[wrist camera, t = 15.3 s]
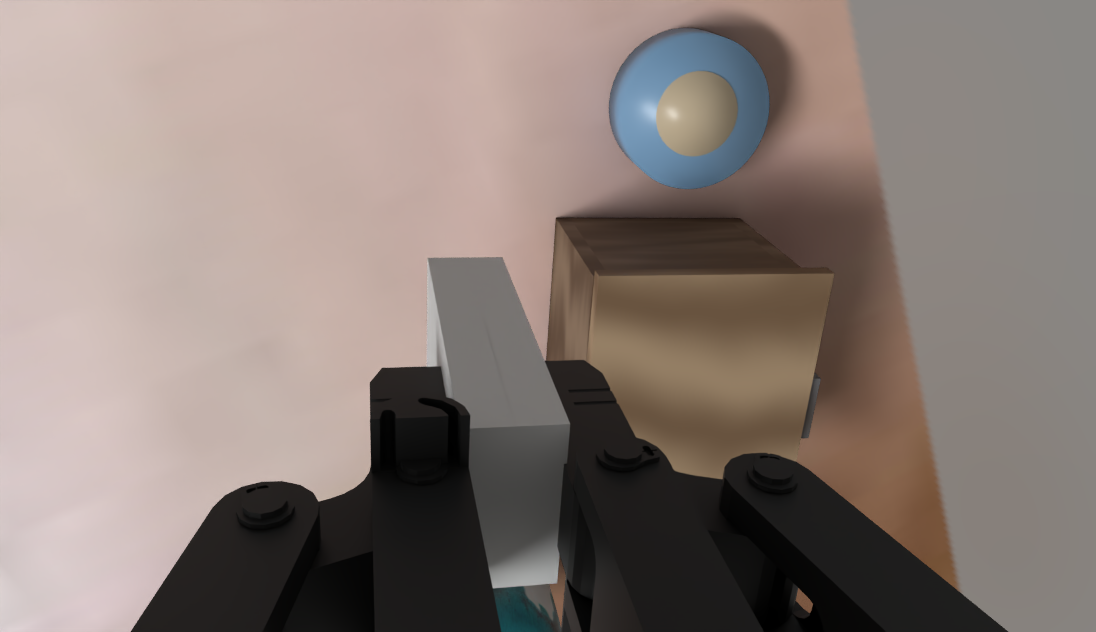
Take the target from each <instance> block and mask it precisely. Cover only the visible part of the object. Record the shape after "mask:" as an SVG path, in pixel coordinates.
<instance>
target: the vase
mask: <svg viewBox="0 0 1096 632" xmlns="http://www.w3.org/2000/svg"><path fill="white" fill-rule="evenodd" d="M493 592H494V597H495V602H496V607H497V612H498V617H499V622H500V627H501V632H561V626H560V622H559V618H558V614H557V610H556V607H555V603H554V600H553V596H552V593H551V589H550V586H549V584H541V585H529V586H516V587H504V588H493Z"/></svg>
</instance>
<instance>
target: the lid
mask: <svg viewBox="0 0 1096 632" xmlns="http://www.w3.org/2000/svg"><path fill="white" fill-rule="evenodd" d="M833 278H834V273H833V272H832V271H831V270H829V269H828V268H737V269H634V270H595V275H594V286H593V297H592V308H591V320H590V331H589V342H588V353H587V362H588V363H589V364H591V365H592V366H593V367H595V368H596V369H598V370H599V371H600V372H602V373H603V375H604V377H605V379H606V381H607V383H608V385H609V387H610V391H612V392H613V394H614V396H615V398H616V400H617V404H619V406H620V408H621V410H622V411H623V413H624V415H625V417H626V419H627V421H628V423H629V425H630V427H631V429H632V431H633V432H634V434H635V436H636V438H640V439H644V440H646V441H648V442H650V443H651V444H653V445H655V446H657V447H658V448H659V449H660V450H661V451H662V452H663V453H664V454H665V455H666V457H667V458H668V460H669V462H670V464H671V466H672V467H673V469H674V470H675V471H677V472H681V473H685V474H690V475H695V476H703V477H710V478H717V479H723V473H724V467H725V466H726V464H727V463H728V462H729V461H730V460H731V459H732V458H735V457H737V456H740V455H742V454H750V453H768V454H770V453H771V454H776V455H780V456H781V457H784V458H787V459H790V460H793V461H795V462H796V460H797V455H798V450H799V445H800V440H801V438H809V433H810V428H811V423H812V418H813V414H814V409H815V404H816V399H817V394H818V390H819V385H820V380H821V378H820V377H819V376H818V375H817V374H816V373H815V367H816V362H817V357H818V352H819V347H820V342H821V337H822V332H823V327H824V323H825V318H826V313H827V308H828V303H829V298H830V293H831V288H832V283H833Z"/></svg>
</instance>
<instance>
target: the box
mask: <svg viewBox="0 0 1096 632" xmlns="http://www.w3.org/2000/svg"><path fill="white" fill-rule="evenodd" d="M737 268H801V267H799V266H798V265H797V264H796V263H794V262H793V261H792V260H791V259H789V258H788V257H787V256H786V255H785V254H783V253H782V252H781V251H780V250H778V249H777V248H776V247H775V246H773V245H772V244H771V243H770V242H768V241H767V240H766V239H765V238H763V237H762V236H761V235H760V234H758V233H757V232H756V231H755V230H754V229H752V228H751V227H750V226H749V225H747V224H746V223H745V222H744V221H742V220H741V219H740V218H556V225H555V239H554V254H553V269H552V283H551V298H550V312H549V327H548V342H547V356H546V361H561V360H585V361H586V362H587V353H588V342H589V331H590V320H591V308H592V297H593V286H594V275H595V270H634V269H737Z"/></svg>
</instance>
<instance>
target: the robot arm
mask: <svg viewBox="0 0 1096 632" xmlns="http://www.w3.org/2000/svg"><path fill="white" fill-rule="evenodd" d="M370 433H371V468H370V472H369V474H368V475H367V477H366V478H365V480H364V481H363V482H361V483H360V484H359V485H358V486H357V487H356V488H354V489H352V490H350V491H348V492H346V493H345V494H342V495H339V496H336V497H333V498H331V499H327V500H323V501H319V502H318V500H317V498H316V497H315V495H314V493H313V492H311V491H309V490H308V489H306V488H304V487H303V486H301V485H297V484H293V483H288V482H283V481H277V482H260V483H256V484H251V485H248V486H244V487H241V488H239V489H237V490H235V491H233V492H231V493H229V494H227V495H225V496H224V497H223V498H222V499H221V500H220V501H219V502H218V503H217V504H216V505H215V506H214V507H213V508H212V509H211V511H210V513H209V514H208V516H207V517H206V519H205V520H204V522H203V523H202V525H201V526H200V528H199V529H198V531H197V532H196V534H195V535H194V537H193V538H192V540H191V541H190V543H189V544H188V546H187V547H186V549H185V550H184V552H183V553H182V555H181V556H180V558H179V559H178V561H177V562H176V564H175V565H174V567H173V568H172V570H171V571H170V573H169V575H168V576H167V578H166V579H165V581H164V582H163V584H162V585H161V587H160V588H159V590H158V591H157V593H156V594H155V596H154V597H153V599H152V600H151V602H150V603H149V605H148V606H147V608H146V609H145V611H144V612H143V614H142V615H141V617H140V618H139V620H138V621H137V623H136V624H135V626H134V627H133V629H132V630H131V632H501V627H500V622H499V617H498V612H497V607H496V602H495V597H494V592H493V588H504V587H516V586H529V585H541V584H554V583H557V578H558V566H559V554H560V557H561V560H562V564H563V567H564V570H565V573H566V580H565V592H564V603H563V615H562V626H561V632H1008V631H1007V630H1005V629H1004V628H1003V627H1002V626H1000V625H999V624H998V623H997V622H996V621H994V620H993V619H992V618H991V617H989V616H988V615H987V614H986V613H984V612H983V611H982V610H981V609H980V608H978V607H977V606H976V605H975V604H973V603H972V602H971V601H970V600H969V599H967V598H966V597H965V596H964V595H962V594H961V593H960V592H959V591H958V590H956V589H955V588H954V587H953V586H951V585H950V584H949V583H948V582H946V581H945V580H944V579H943V578H942V577H940V576H939V575H938V574H937V573H935V572H934V571H933V570H932V569H930V568H929V567H928V566H927V565H926V564H924V563H923V562H922V561H921V560H919V559H918V558H917V557H916V556H914V555H913V554H912V553H911V552H910V551H908V550H907V549H906V548H905V547H903V546H902V545H901V544H900V543H898V542H897V541H896V540H895V539H893V538H892V537H891V536H890V535H889V534H887V533H886V532H885V531H884V530H882V529H881V528H880V527H879V526H877V525H876V524H875V523H874V522H873V521H871V520H870V519H869V518H868V517H866V516H865V515H864V514H863V513H861V512H860V511H859V510H858V509H857V508H855V507H854V506H853V505H852V504H850V503H849V502H848V501H847V500H845V499H844V498H843V497H842V496H841V495H839V494H838V493H837V492H836V491H834V490H833V489H832V488H831V487H829V486H828V485H827V484H826V483H825V482H823V481H822V480H821V479H820V478H818V477H817V476H816V475H815V474H813V473H812V472H811V471H810V470H808V469H807V468H805V467H804V466H802V465H800V464H799V463H797V462H795V461H793V460H790V459H787V458H784V457H781V456H780V455H776V454H771V453H770V454H768V453H750V454H742V455H740V456H737V457H735V458H732V459H731V460H730V461H729V462H728V463H727V464H726V466H725V467H724V473H723V479H717V478H710V477H703V476H695V475H690V474H685V473H681V472H677V471H675V470H674V469H673V467H672V466H671V464H670V462H669V460H668V458H667V457H666V455H665V454H664V453H663V452H662V451H661V450H660V449H659V448H658V447H657V446H655V445H653V444H651V443H650V442H648V441H646V440H644V439H640V438H636V436H635V434H634V432H633V431H632V429H631V427H630V425H629V423H628V421H627V419H626V417H625V415H624V413H623V411H622V410H621V408H620V406H619V404H617V400H616V398H615V396H614V394H613V392H612V391H610V387H609V385H608V383H607V381H606V379H605V377H604V375H603V373H602V372H600V371H599V370H598V369H596V368H595V367H593V366H592V365H591V364H589V363H588V362H586V361H585V360H561V361H544V358H543V356H542V354H541V351H540V349H539V346H538V344H537V341H536V339H535V336H534V334H533V332H532V329H531V327H530V324H529V322H528V319H527V317H526V314H525V312H524V310H523V307H522V305H521V302H520V300H519V297H518V295H517V292H516V290H515V287H514V285H513V283H512V280H511V278H510V275H509V273H508V270H507V268H506V265H505V263H504V261H503V258H502V257H486V258H428V267H427V367H400V368H382V369H381V370H380V371H379V372H378V374H377V375H376V376H375V377H374V378H373V380H372V381H371V382H370ZM798 588H799V589H800V590H801V591H802V592H803V593H804V594H805V595H806V596H807V597H808V598H809V599H810V600H811V602H812V603H813V607H812V611H811V613H808V612H807V611H806V610H804V609H803V608H802V607H801V606H800V605H799V604H798V603H797V602H796V601H795V600H796V596H797V591H798Z"/></svg>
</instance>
